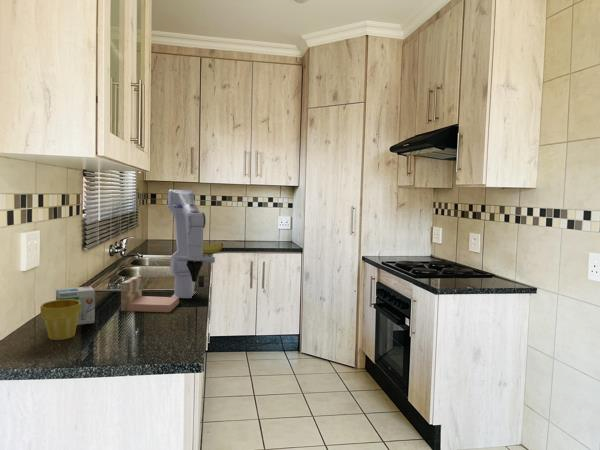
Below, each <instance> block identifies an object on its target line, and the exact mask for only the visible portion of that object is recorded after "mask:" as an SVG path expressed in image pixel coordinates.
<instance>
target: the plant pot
mask: <svg viewBox="0 0 600 450" xmlns="http://www.w3.org/2000/svg"><path fill="white" fill-rule="evenodd" d="M80 314H81V302H80V301H79V300H72V299H64V300H56V299H55V300H49V301H47V302H44V303H42V304H41V305H40V317H41V319H43V321H44V325H45V328H46V332H47V333H46V334H47V336H48V339H49V340H51V341H62V340H69V339H71V338H74V337H75V334H76V330H77V326H78V325H77V321H78V317H79V315H80Z"/></svg>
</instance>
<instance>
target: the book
mask: <svg viewBox="0 0 600 450" xmlns="http://www.w3.org/2000/svg"><path fill="white" fill-rule="evenodd" d="M179 304H180V298H179V297H171V296H150V295H149V296H147V295H146V296H144V295H142V296H139V297H137V298H136V299H134V300H133V301H131V302H129V303H128V304H127V311H126V312H146V313H147V312H151V313H157V312H158V313H170V312H172V311H173V310H174V309H175V308H176V307H177V306H178V305H179Z"/></svg>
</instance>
